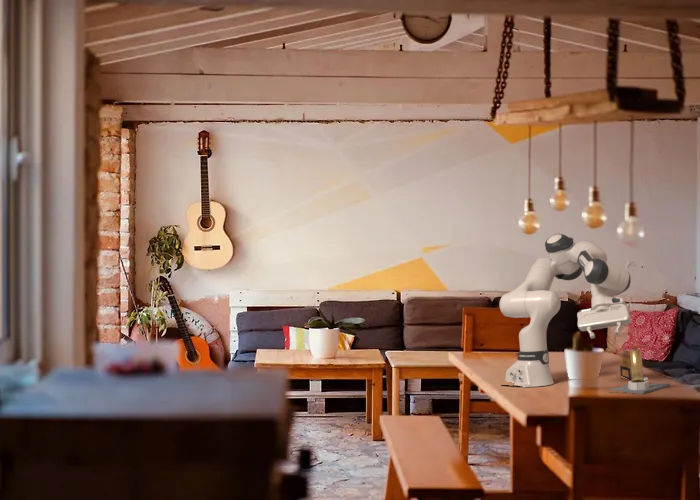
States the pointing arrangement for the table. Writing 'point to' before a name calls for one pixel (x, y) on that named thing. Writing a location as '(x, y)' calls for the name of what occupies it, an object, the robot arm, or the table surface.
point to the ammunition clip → (625, 364)
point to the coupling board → (651, 388)
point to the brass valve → (636, 363)
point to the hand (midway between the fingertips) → (604, 335)
